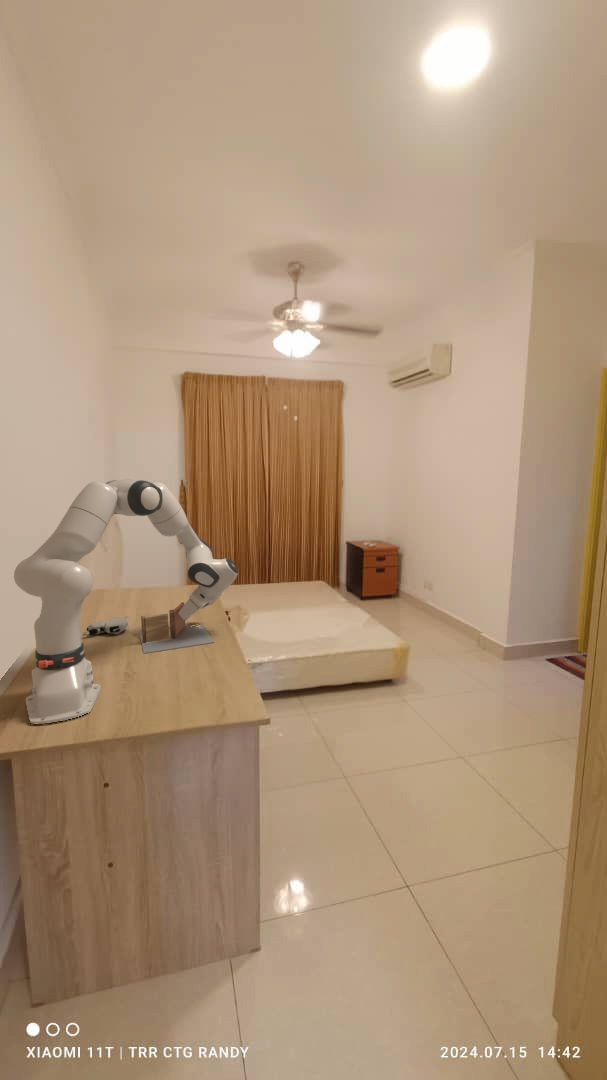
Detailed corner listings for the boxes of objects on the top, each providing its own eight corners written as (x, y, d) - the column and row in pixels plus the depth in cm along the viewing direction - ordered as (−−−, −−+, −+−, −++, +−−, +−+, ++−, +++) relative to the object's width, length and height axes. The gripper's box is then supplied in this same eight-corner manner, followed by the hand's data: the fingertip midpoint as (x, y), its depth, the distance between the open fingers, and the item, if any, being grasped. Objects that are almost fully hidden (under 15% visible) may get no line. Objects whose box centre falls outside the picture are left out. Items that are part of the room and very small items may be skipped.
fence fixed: (175, 639, 175) (174, 610, 173) (143, 644, 170) (141, 614, 168) (174, 638, 176) (173, 609, 174) (142, 642, 172) (140, 613, 170)
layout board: (214, 642, 171) (213, 641, 171) (144, 653, 162) (143, 652, 162) (202, 624, 191) (202, 623, 191) (139, 633, 182) (139, 632, 182)
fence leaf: (186, 626, 187) (184, 602, 185) (175, 637, 176) (174, 611, 175) (183, 626, 187) (181, 602, 186) (172, 636, 176) (171, 611, 175)
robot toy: (84, 642, 176) (127, 635, 179) (82, 630, 175) (125, 624, 178) (91, 631, 187) (130, 625, 191) (89, 620, 187) (129, 614, 190)
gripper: (210, 580, 190) (189, 603, 193) (189, 595, 170) (166, 620, 173) (222, 591, 190) (200, 614, 193) (201, 607, 170) (178, 632, 173)
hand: (184, 617), depth 183 cm, fingers closed
